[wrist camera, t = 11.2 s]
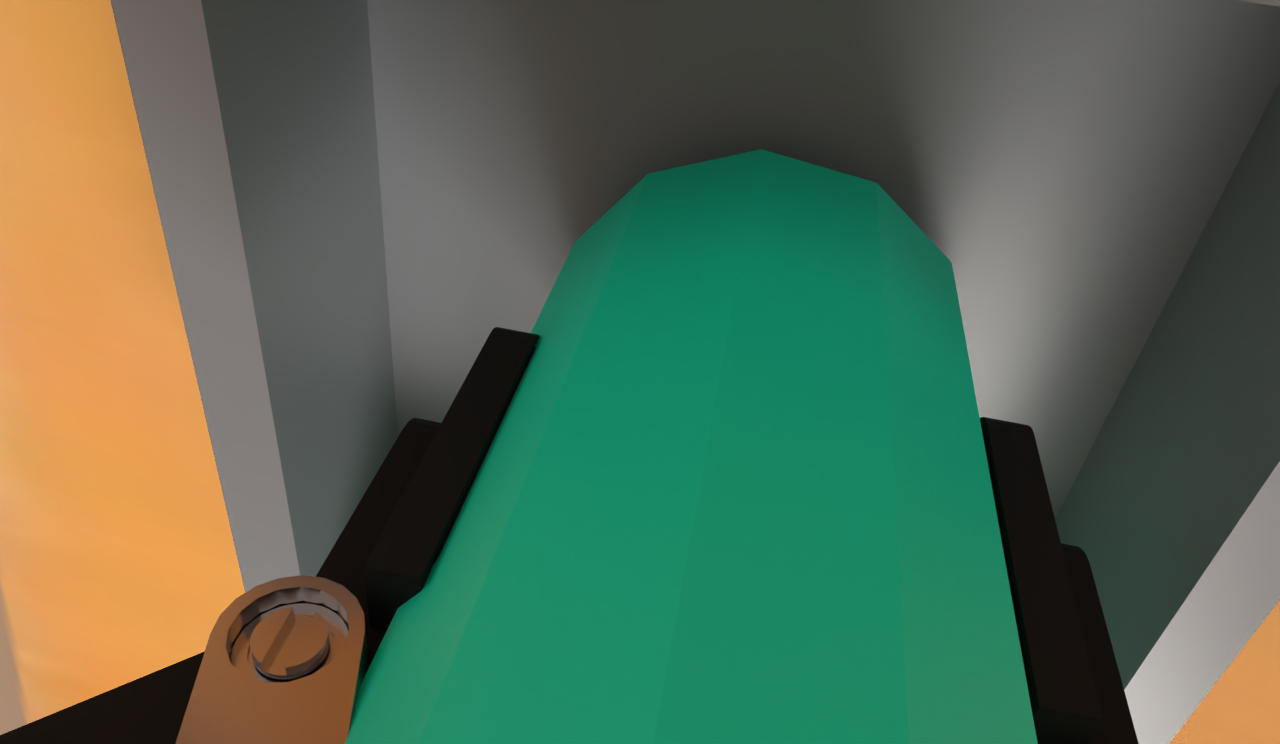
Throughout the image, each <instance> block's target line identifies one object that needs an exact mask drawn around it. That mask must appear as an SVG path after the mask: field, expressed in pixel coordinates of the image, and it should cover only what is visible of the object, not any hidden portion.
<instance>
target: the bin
mask: <svg viewBox="0 0 1280 744" xmlns="http://www.w3.org/2000/svg"><path fill="white" fill-rule="evenodd" d="M111 4H112V8H113V13H114V17H115V21H116V26H117V30H118V35H119V39H120V43H121V48H122V52H123V57H124V61H125V65H126V70H127V74H128V79H129V83H130V87H131V92H132V96H133V101H134V105H135V109H136V114H137V118H138V123H139V127H140V131H141V136H142V140H143V145H144V149H145V153H146V158H147V162H148V167H149V171H150V175H151V180H152V184H153V188H154V193H155V197H156V202H157V206H158V210H159V215H160V219H161V224H162V228H163V232H164V237H165V241H166V246H167V250H168V254H169V259H170V263H171V268H172V272H173V276H174V281H175V285H176V290H177V294H178V298H179V303H180V307H181V312H182V316H183V320H184V325H185V329H186V334H187V338H188V342H189V347H190V351H191V356H192V360H193V364H194V369H195V373H196V378H197V382H198V386H199V391H200V395H201V400H202V404H203V408H204V413H205V417H206V422H207V426H208V430H209V435H210V439H211V443H212V448H213V452H214V457H215V461H216V465H217V470H218V474H219V479H220V483H221V487H222V492H223V496H224V501H225V505H226V509H227V514H228V518H229V523H230V527H231V531H232V536H233V540H234V545H235V549H236V553H237V558H238V562H239V567H240V571H241V575H242V580H243V584H244V589H245V593H246V592H247V591H249V590H251V589H252V588H254V587H255V586H258V585H260V584H263V583H266V582H269V581H272V580H275V579H278V578H283V577H291V576H300V575H305V576H314V577H316V575H317V573H318V572H319V570H320V568H321V567H322V565H323V563H324V562H325V560H326V558H327V556H328V555H329V553H330V551H331V550H332V548H333V546H334V545H335V543H336V541H337V539H338V538H339V536H340V534H341V533H342V531H343V529H344V528H345V526H346V524H347V523H348V521H349V519H350V517H351V516H352V514H353V512H354V511H355V509H356V507H357V506H358V504H359V502H360V501H361V499H362V497H363V495H364V494H365V492H366V490H367V489H368V487H369V485H370V484H371V482H372V480H373V479H374V477H375V475H376V473H377V472H378V470H379V468H380V467H381V465H382V463H383V462H384V460H385V458H386V456H387V455H388V453H389V451H390V450H391V448H392V446H393V445H394V443H395V441H396V440H397V438H398V436H399V434H400V433H401V431H402V429H403V428H404V427H405V425H406V424H407V423H408V421H410V420H411V419H413V418H419V419H424V420H429V421H434V422H439V423H442V421H443V419H444V417H445V415H446V414H447V412H448V410H449V408H450V406H451V404H452V403H453V401H454V399H455V397H456V395H457V393H458V392H459V390H460V388H461V386H462V384H463V382H464V381H465V379H466V377H467V375H468V373H469V371H470V369H471V368H472V366H473V364H474V362H475V360H476V358H477V357H478V355H479V353H480V351H481V349H482V347H483V346H484V344H485V342H486V340H487V338H488V336H489V334H490V333H491V331H492V330H493V328H495V327H500V328H505V329H511V330H516V331H521V332H527V333H531V331H532V329H533V327H534V325H535V323H536V321H537V319H538V317H539V315H540V313H541V310H542V308H543V306H544V304H545V302H546V300H547V298H548V296H549V294H550V292H551V290H552V288H553V286H554V284H555V281H556V279H557V277H558V275H559V273H560V271H561V269H562V267H563V265H564V263H565V261H566V259H567V257H568V255H569V253H570V250H571V248H572V246H573V244H574V242H575V241H576V240H577V239H579V238H580V237H581V236H582V235H583V234H584V233H585V232H586V231H587V230H588V229H589V228H590V227H591V226H592V225H593V224H595V223H596V222H597V221H598V220H599V219H600V218H601V217H602V216H603V215H604V214H605V213H606V212H607V211H608V210H610V209H611V208H612V207H613V206H614V205H615V204H616V203H617V202H618V201H619V200H620V199H621V198H622V197H623V196H625V195H626V194H627V193H628V192H629V191H630V190H631V189H632V188H633V187H634V186H635V185H636V184H637V183H638V182H640V181H641V180H642V179H643V178H644V177H645V176H646V175H647V174H648V173H653V172H658V171H662V170H667V169H672V168H676V167H681V166H686V165H690V164H695V163H700V162H704V161H709V160H713V159H718V158H723V157H727V156H732V155H737V154H741V153H746V152H751V151H755V150H760V149H763V150H766V151H769V152H773V153H776V154H780V155H783V156H787V157H790V158H793V159H797V160H800V161H804V162H807V163H811V164H814V165H817V166H821V167H824V168H828V169H831V170H835V171H838V172H842V173H845V174H848V175H852V176H855V177H859V178H862V179H866V180H869V181H872V182H876V183H878V184H879V186H880V187H881V188H882V189H883V190H884V191H885V192H886V193H887V194H888V195H889V196H890V197H891V198H892V199H893V200H894V201H895V202H896V204H897V205H898V206H899V207H900V208H901V209H902V210H903V211H904V212H905V213H906V214H907V215H908V216H909V217H910V218H911V219H912V220H913V222H914V223H915V224H916V225H917V226H918V227H919V228H920V229H921V230H922V231H923V232H924V233H925V234H926V235H927V236H928V237H929V238H930V240H931V241H932V242H933V243H934V244H935V245H936V246H937V247H938V248H939V249H940V250H941V251H942V252H943V253H944V254H945V255H946V256H947V258H948V259H949V260H950V261H951V262H952V266H953V271H954V277H955V282H956V288H957V294H958V299H959V305H960V310H961V316H962V322H963V327H964V333H965V339H966V344H967V350H968V355H969V361H970V367H971V372H972V378H973V383H974V389H975V395H976V400H977V406H978V411H979V417H980V418H981V417H987V418H992V419H997V420H1003V421H1008V422H1014V423H1019V424H1024V425H1029V426H1030V427H1031V428H1032V430H1033V432H1034V435H1035V440H1036V444H1037V448H1038V452H1039V456H1040V460H1041V464H1042V468H1043V472H1044V476H1045V481H1046V485H1047V489H1048V493H1049V497H1050V501H1051V505H1052V509H1053V513H1054V517H1055V522H1056V526H1057V530H1058V534H1059V538H1060V542H1061V543H1063V544H1068V545H1073V546H1078V547H1080V548H1081V549H1082V550H1083V551H1084V552H1085V553H1086V555H1087V558H1088V560H1089V563H1090V566H1091V570H1092V573H1093V577H1094V581H1095V584H1096V588H1097V592H1098V596H1099V599H1100V603H1101V607H1102V610H1103V614H1104V618H1105V621H1106V625H1107V629H1108V632H1109V636H1110V640H1111V644H1112V647H1113V651H1114V655H1115V658H1116V662H1117V666H1118V669H1119V673H1120V677H1121V680H1122V684H1123V688H1124V692H1125V695H1126V699H1127V703H1128V706H1129V710H1130V714H1131V717H1132V721H1133V725H1134V728H1135V732H1136V736H1137V740H1138V743H1139V744H1169V743H1170V742H1171V741H1172V739H1173V738H1174V737H1175V735H1176V734H1177V733H1178V732H1179V730H1180V729H1181V728H1182V726H1183V725H1184V724H1185V722H1186V721H1187V720H1188V719H1189V717H1190V716H1191V715H1192V713H1193V712H1194V711H1195V709H1196V708H1197V707H1198V706H1199V704H1200V703H1201V702H1202V700H1203V699H1204V698H1205V696H1206V695H1207V694H1208V693H1209V691H1210V690H1211V689H1212V687H1213V686H1214V685H1215V683H1216V682H1217V681H1218V680H1219V678H1220V677H1221V676H1222V674H1223V673H1224V672H1225V670H1226V669H1227V668H1228V667H1229V665H1230V664H1231V663H1232V661H1233V660H1234V659H1235V658H1236V656H1237V655H1238V654H1239V652H1240V651H1241V650H1242V648H1243V647H1244V646H1245V645H1246V643H1247V642H1248V641H1249V639H1250V638H1251V637H1252V635H1253V634H1254V633H1255V632H1256V630H1257V629H1258V628H1259V626H1260V625H1261V624H1262V622H1263V621H1264V620H1265V619H1266V617H1267V616H1268V615H1269V613H1270V612H1271V611H1272V609H1273V608H1274V607H1275V606H1276V604H1277V603H1278V602H1279V600H1280V0H111Z"/></svg>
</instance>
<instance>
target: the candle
mask: <svg viewBox="0 0 1280 744" xmlns="http://www.w3.org/2000/svg"><path fill="white" fill-rule="evenodd" d="M531 333H532V334H538V335H539V336H540V337H539V340H538V342H537V344H535V345H534V346H535V347H536V348H535V351H534V354H533V356H532V358H531V360H530V362H529V364H528V366H527V369H526V371H525V373H524V375H523V377H522V379H521V381H520V384H519V386H518V388H517V390H516V392H515V394H514V397H513V399H512V401H511V403H510V405H509V407H508V409H507V412H506V414H505V416H504V418H503V420H502V422H501V425H500V427H499V429H498V431H497V433H496V435H495V437H494V440H493V442H492V444H491V446H490V448H489V450H488V453H487V455H486V457H485V459H484V461H483V463H482V465H481V468H480V470H479V472H478V474H477V476H476V478H475V481H474V483H473V485H472V487H471V489H470V491H469V493H468V496H467V498H466V500H465V502H464V504H463V506H462V509H461V511H460V513H459V515H458V517H457V519H456V521H455V524H454V526H453V528H452V530H451V532H450V534H449V537H448V539H447V541H446V543H445V545H444V547H443V549H442V552H441V554H440V555H439V557H438V559H437V561H436V562H435V564H434V565H433V566H432V568H431V571H430V573H429V576H428V578H427V580H426V582H425V584H424V586H423V589H422V591H421V592H419V593H418V594H417V595H415V596H414V597H412V598H411V599H410V600H408V601H407V602H406V603H404V604H403V605H401V606H400V607H399V608H398V609H397V611H396V613H395V615H394V617H393V619H392V621H391V623H390V625H389V627H388V629H387V631H386V634H385V636H384V638H383V640H382V642H381V644H380V646H379V648H378V650H377V652H376V654H375V656H374V658H373V660H372V663H371V665H370V667H369V669H368V671H367V673H366V675H365V677H364V679H363V681H362V683H361V685H360V689H359V693H358V697H357V701H356V705H355V709H354V713H353V717H352V721H351V725H350V729H349V733H348V737H347V739H346V742H345V744H1038V742H1037V737H1036V731H1035V726H1034V720H1033V714H1032V709H1031V703H1030V697H1029V692H1028V686H1027V681H1026V675H1025V669H1024V664H1023V658H1022V653H1021V647H1020V641H1019V636H1018V630H1017V625H1016V619H1015V613H1014V608H1013V602H1012V597H1011V591H1010V585H1009V580H1008V574H1007V568H1006V563H1005V557H1004V552H1003V546H1002V540H1001V535H1000V529H999V524H998V518H997V512H996V507H995V501H994V496H993V490H992V484H991V479H990V473H989V468H988V462H987V456H986V451H985V445H984V439H983V434H982V428H981V423H980V417H979V411H978V406H977V400H976V395H975V389H974V383H973V378H972V372H971V367H970V361H969V355H968V350H967V344H966V339H965V333H964V327H963V322H962V316H961V310H960V305H959V299H958V294H957V288H956V282H955V277H954V271H953V266H952V262H951V261H950V260H949V259H948V258H947V256H946V255H945V254H944V253H943V252H942V251H941V250H940V249H939V248H938V247H937V246H936V245H935V244H934V243H933V242H932V241H931V240H930V238H929V237H928V236H927V235H926V234H925V233H924V232H923V231H922V230H921V229H920V228H919V227H918V226H917V225H916V224H915V223H914V222H913V220H912V219H911V218H910V217H909V216H908V215H907V214H906V213H905V212H904V211H903V210H902V209H901V208H900V207H899V206H898V205H897V204H896V202H895V201H894V200H893V199H892V198H891V197H890V196H889V195H888V194H887V193H886V192H885V191H884V190H883V189H882V188H881V187H880V186H879V184H878V183H876V182H872V181H869V180H866V179H862V178H859V177H855V176H852V175H848V174H845V173H842V172H838V171H835V170H831V169H828V168H824V167H821V166H817V165H814V164H811V163H807V162H804V161H800V160H797V159H793V158H790V157H787V156H783V155H780V154H776V153H773V152H769V151H766V150H763V149H760V150H755V151H751V152H746V153H741V154H737V155H732V156H727V157H723V158H718V159H713V160H709V161H704V162H700V163H695V164H690V165H686V166H681V167H676V168H672V169H667V170H662V171H658V172H653V173H648V174H647V175H646V176H645V177H644V178H643V179H642V180H641V181H640V182H638V183H637V184H636V185H635V186H634V187H633V188H632V189H631V190H630V191H629V192H628V193H627V194H626V195H625V196H623V197H622V198H621V199H620V200H619V201H618V202H617V203H616V204H615V205H614V206H613V207H612V208H611V209H610V210H608V211H607V212H606V213H605V214H604V215H603V216H602V217H601V218H600V219H599V220H598V221H597V222H596V223H595V224H593V225H592V226H591V227H590V228H589V229H588V230H587V231H586V232H585V233H584V234H583V235H582V236H581V237H580V238H579V239H577V240H576V241H575V242H574V244H573V246H572V248H571V250H570V253H569V255H568V257H567V259H566V261H565V263H564V265H563V267H562V269H561V271H560V273H559V275H558V277H557V279H556V281H555V284H554V286H553V288H552V290H551V292H550V294H549V296H548V298H547V300H546V302H545V304H544V306H543V308H542V310H541V313H540V315H539V317H538V319H537V321H536V323H535V325H534V327H533V329H532V331H531Z"/></svg>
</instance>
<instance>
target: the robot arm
mask: <svg viewBox="0 0 1280 744" xmlns="http://www.w3.org/2000/svg"><path fill="white" fill-rule="evenodd" d="M539 337H540V336H539V335H538V334H532V333H527V332H521V331H516V330H511V329H505V328H500V327H495V328H493V330H492V331H491V333H490V334H489V336H488V338H487V340H486V342H485V344H484V346H483V347H482V349H481V351H480V353H479V355H478V357H477V358H476V360H475V362H474V364H473V366H472V368H471V369H470V371H469V373H468V375H467V377H466V379H465V381H464V382H463V384H462V386H461V388H460V390H459V392H458V393H457V395H456V397H455V399H454V401H453V403H452V404H451V406H450V408H449V410H448V412H447V414H446V415H445V417H444V419H443V421H442V423H439V422H434V421H429V420H424V419H419V418H413V419H411V420H410V421H408V423H407V424H406V425H405V427H404V428H403V429H402V431H401V433H400V434H399V436H398V438H397V440H396V441H395V443H394V445H393V446H392V448H391V450H390V451H389V453H388V455H387V456H386V458H385V460H384V462H383V463H382V465H381V467H380V468H379V470H378V472H377V473H376V475H375V477H374V479H373V480H372V482H371V484H370V485H369V487H368V489H367V490H366V492H365V494H364V495H363V497H362V499H361V501H360V502H359V504H358V506H357V507H356V509H355V511H354V512H353V514H352V516H351V517H350V519H349V521H348V523H347V524H346V526H345V528H344V529H343V531H342V533H341V534H340V536H339V538H338V539H337V541H336V543H335V545H334V546H333V548H332V550H331V551H330V553H329V555H328V556H327V558H326V560H325V562H324V563H323V565H322V567H321V568H320V570H319V572H318V573H317V575H316V577H314V576H305V575H300V576H291V577H283V578H278V579H275V580H272V581H269V582H266V583H263V584H260V585H258V586H255V587H254V588H252V589H251V590H249V591H247V592H246V593H244V594H243V595H241V596H239V597H238V598H236V599H235V600H234V601H233V602H232V603H231V604H230V605H229V606H228V607H227V608H226V609H225V611H224V612H223V613H222V614H221V615H220V616H219V618H218V620H217V622H216V624H215V626H214V628H213V630H212V632H211V634H210V637H209V640H208V643H207V646H206V650H205V652H203V653H200V654H198V655H195V656H193V657H190V658H188V659H186V660H183V661H181V662H178V663H176V664H173V665H171V666H168V667H166V668H164V669H161V670H159V671H156V672H154V673H151V674H149V675H146V676H144V677H142V678H139V679H137V680H134V681H132V682H129V683H127V684H125V685H122V686H120V687H117V688H115V689H112V690H110V691H107V692H105V693H103V694H100V695H98V696H95V697H93V698H90V699H88V700H85V701H83V702H81V703H78V704H76V705H73V706H71V707H68V708H66V709H64V710H61V711H59V712H56V713H54V714H51V715H49V716H46V717H44V718H42V719H39V720H37V721H34V722H32V723H29V724H27V725H24V726H22V727H20V728H17V729H15V730H12V731H10V732H8V733H5V734H3V735H0V744H345V742H346V739H347V737H348V733H349V729H350V725H351V721H352V717H353V713H354V709H355V705H356V701H357V697H358V693H359V689H360V685H361V683H362V681H363V679H364V677H365V675H366V673H367V671H368V669H369V667H370V665H371V663H372V660H373V658H374V656H375V654H376V652H377V650H378V648H379V646H380V644H381V642H382V640H383V638H384V636H385V634H386V631H387V629H388V627H389V625H390V623H391V621H392V619H393V617H394V615H395V613H396V611H397V609H398V608H399V607H400V606H401V605H403V604H404V603H406V602H407V601H408V600H410V599H411V598H412V597H414V596H415V595H417V594H418V593H419V592H421V591H422V589H423V586H424V584H425V582H426V580H427V578H428V576H429V573H430V571H431V568H432V566H433V565H434V564H435V562H436V561H437V559H438V557H439V555H440V554H441V552H442V549H443V547H444V545H445V543H446V541H447V539H448V537H449V534H450V532H451V530H452V528H453V526H454V524H455V521H456V519H457V517H458V515H459V513H460V511H461V509H462V506H463V504H464V502H465V500H466V498H467V496H468V493H469V491H470V489H471V487H472V485H473V483H474V481H475V478H476V476H477V474H478V472H479V470H480V468H481V465H482V463H483V461H484V459H485V457H486V455H487V453H488V450H489V448H490V446H491V444H492V442H493V440H494V437H495V435H496V433H497V431H498V429H499V427H500V425H501V422H502V420H503V418H504V416H505V414H506V412H507V409H508V407H509V405H510V403H511V401H512V399H513V397H514V394H515V392H516V390H517V388H518V386H519V384H520V381H521V379H522V377H523V375H524V373H525V371H526V369H527V366H528V364H529V362H530V360H531V358H532V356H533V354H534V351H535V348H536V347H535V346H534V345H535V344H537V342H538V340H539ZM980 423H981V428H982V434H983V439H984V445H985V451H986V456H987V462H988V468H989V473H990V479H991V484H992V490H993V496H994V501H995V507H996V512H997V518H998V524H999V529H1000V535H1001V540H1002V546H1003V552H1004V557H1005V563H1006V568H1007V574H1008V580H1009V585H1010V591H1011V597H1012V602H1013V608H1014V613H1015V619H1016V625H1017V630H1018V636H1019V641H1020V647H1021V653H1022V658H1023V664H1024V669H1025V675H1026V681H1027V686H1028V692H1029V697H1030V703H1031V709H1032V714H1033V720H1034V726H1035V731H1036V737H1037V742H1038V744H1139V743H1138V740H1137V736H1136V732H1135V728H1134V725H1133V721H1132V717H1131V714H1130V710H1129V706H1128V703H1127V699H1126V695H1125V692H1124V688H1123V684H1122V680H1121V677H1120V673H1119V669H1118V666H1117V662H1116V658H1115V655H1114V651H1113V647H1112V644H1111V640H1110V636H1109V632H1108V629H1107V625H1106V621H1105V618H1104V614H1103V610H1102V607H1101V603H1100V599H1099V596H1098V592H1097V588H1096V584H1095V581H1094V577H1093V573H1092V570H1091V566H1090V563H1089V560H1088V558H1087V555H1086V553H1085V552H1084V551H1083V550H1082V549H1081V548H1080V547H1078V546H1073V545H1068V544H1063V543H1061V542H1060V538H1059V534H1058V530H1057V526H1056V522H1055V517H1054V513H1053V509H1052V505H1051V501H1050V497H1049V493H1048V489H1047V485H1046V481H1045V476H1044V472H1043V468H1042V464H1041V460H1040V456H1039V452H1038V448H1037V444H1036V440H1035V435H1034V432H1033V430H1032V428H1031V427H1030V426H1029V425H1024V424H1019V423H1014V422H1008V421H1003V420H997V419H992V418H987V417H981V418H980Z"/></svg>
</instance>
